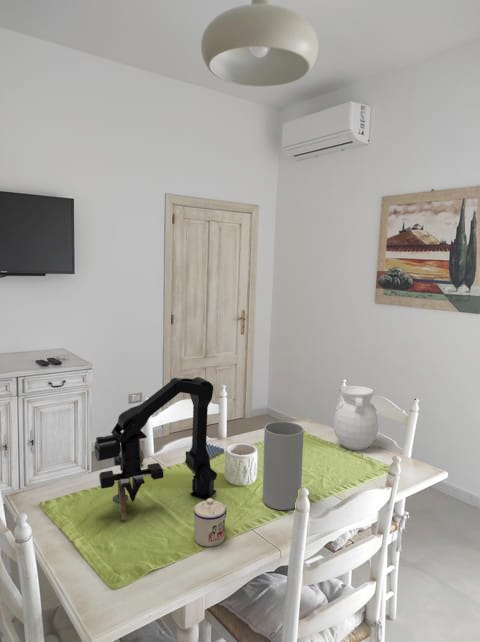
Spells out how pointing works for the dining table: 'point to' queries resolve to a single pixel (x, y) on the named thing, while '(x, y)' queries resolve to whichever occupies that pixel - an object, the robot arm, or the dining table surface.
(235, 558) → the dining table surface
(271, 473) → the cylinder vase
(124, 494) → the brown wooden plank
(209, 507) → the teacup with lid
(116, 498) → the hinge pin
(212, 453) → the woven mat
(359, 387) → the pitcher
